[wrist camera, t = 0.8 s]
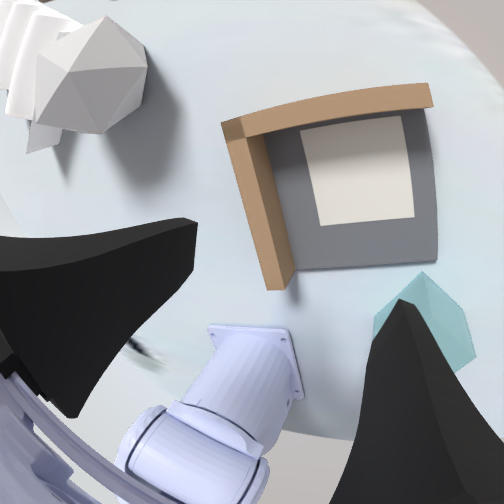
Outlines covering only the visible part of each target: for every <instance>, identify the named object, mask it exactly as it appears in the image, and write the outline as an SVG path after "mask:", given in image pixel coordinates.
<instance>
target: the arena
mask: <svg viewBox="0 0 504 504" xmlns="http://www.w3.org/2000/svg"><path fill="white" fill-rule="evenodd" d="M430 107H434V106H433V102H432V97H431V93H430V89H429V85H428V83H416V84H403V85H392V86H383V87H375V88H367V89H360V90H354V91H347V92H341V93H336V94H330V95H325V96H320V97H315V98H310V99H305V100H301V101H297V102H292V103H288V104H284V105H280V106H276V107H272V108H268V109H265V110H261V111H257V112H254V113H250V114H247V115H244V116H240V117H237V118H234V119H230V120H227V121H224V122H221V126H222V130H223V133H224V137H225V140H226V144H227V148H228V151H229V155H230V158H231V162H232V165H233V169H234V173H235V176H236V180H237V183H238V187H239V191H240V194H241V198H242V201H243V205H244V209H245V212H246V216H247V219H248V223H249V227H250V230H251V234H252V238H253V241H254V245H255V248H256V252H257V256H258V259H259V263H260V267H261V270H262V274H263V277H264V281H265V285H266V288H267V290H285V289H286V287H287V285H288V283H289V281H290V279H291V277H292V275H293V274H294V272H295V270H298V269H316V268H333V267H349V266H364V265H379V264H393V263H407V262H420V261H432V260H437V254H438V228H437V203H436V189H435V178H434V168H433V160H432V153H431V146H430V140H429V134H428V128H427V123H426V117H425V113H424V108H430Z"/></svg>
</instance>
